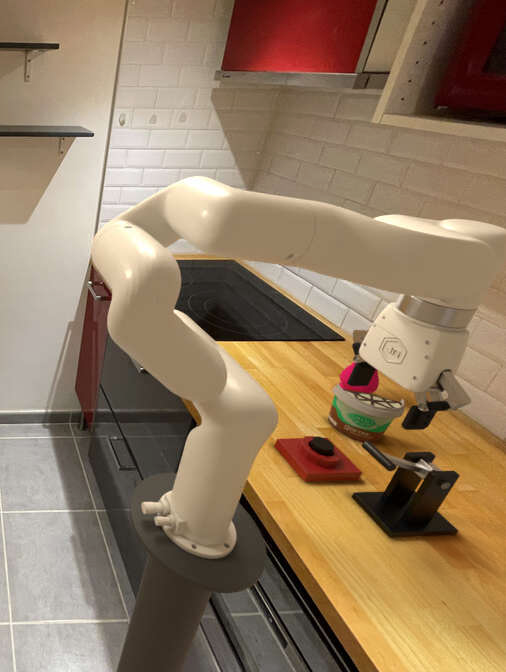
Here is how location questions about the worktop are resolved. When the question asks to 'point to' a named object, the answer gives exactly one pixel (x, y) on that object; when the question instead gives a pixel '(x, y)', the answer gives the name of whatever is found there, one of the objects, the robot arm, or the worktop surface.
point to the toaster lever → (400, 462)
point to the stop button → (322, 446)
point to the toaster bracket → (411, 501)
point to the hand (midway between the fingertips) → (382, 405)
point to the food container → (362, 414)
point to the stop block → (316, 461)
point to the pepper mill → (367, 389)
